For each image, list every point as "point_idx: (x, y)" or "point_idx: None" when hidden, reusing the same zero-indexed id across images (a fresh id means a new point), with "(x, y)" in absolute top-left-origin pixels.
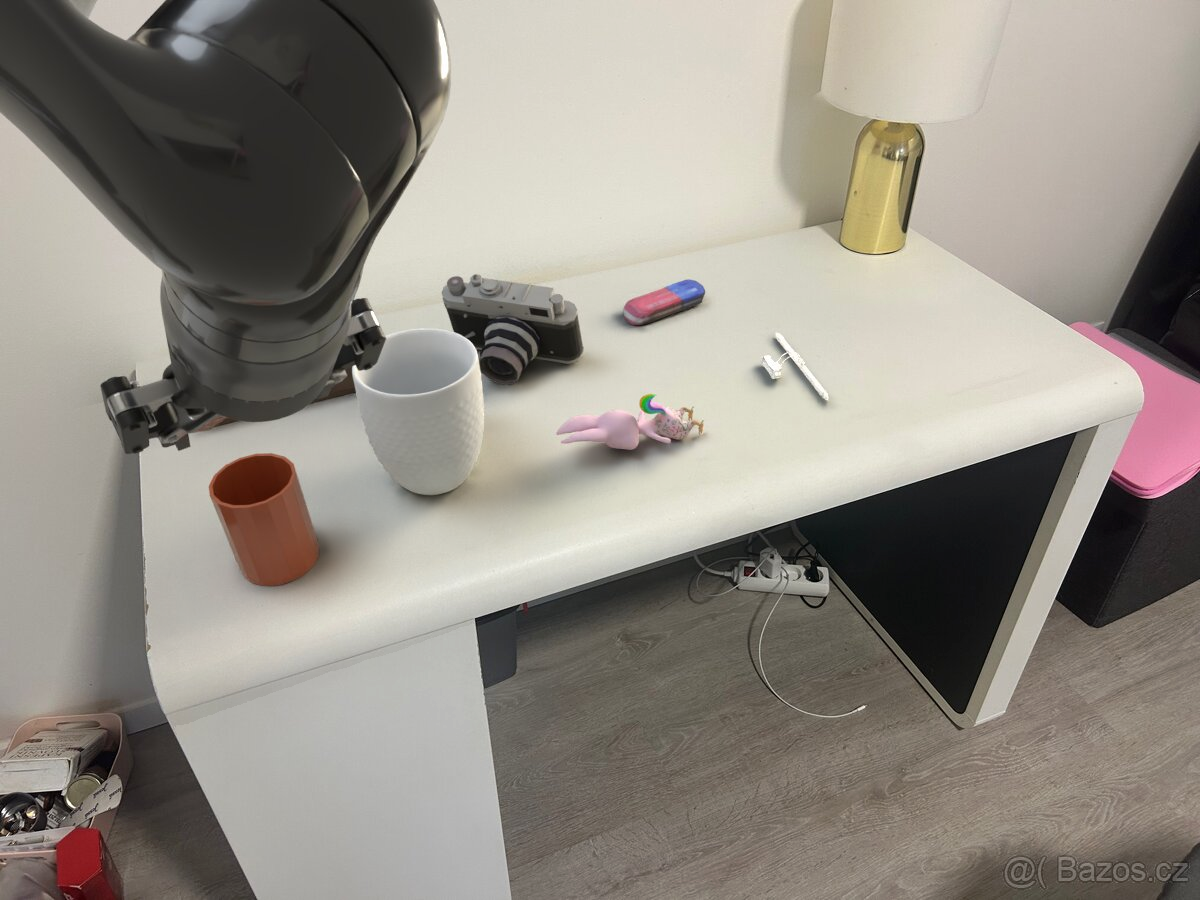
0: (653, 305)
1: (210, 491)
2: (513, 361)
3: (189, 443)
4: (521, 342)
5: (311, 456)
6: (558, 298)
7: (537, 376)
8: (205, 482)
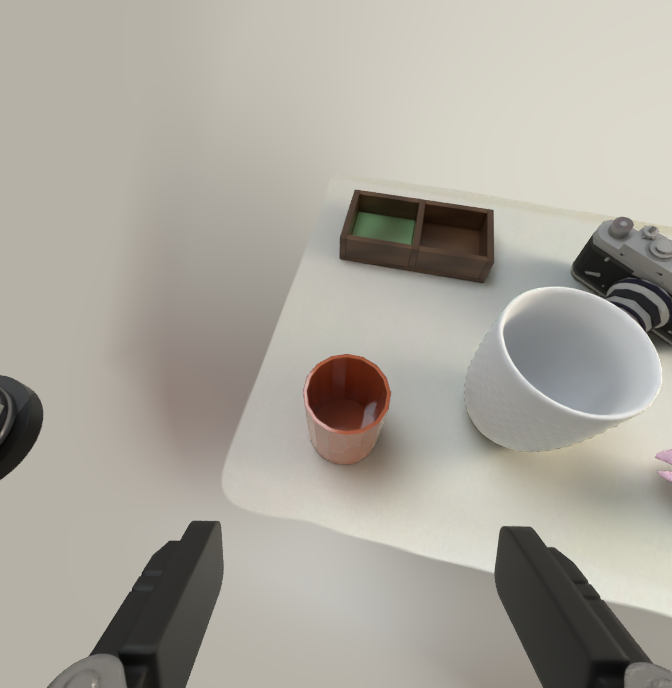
0: None
1: (305, 384)
2: None
3: (207, 623)
4: (655, 318)
5: (407, 330)
6: None
7: None
8: (323, 313)
